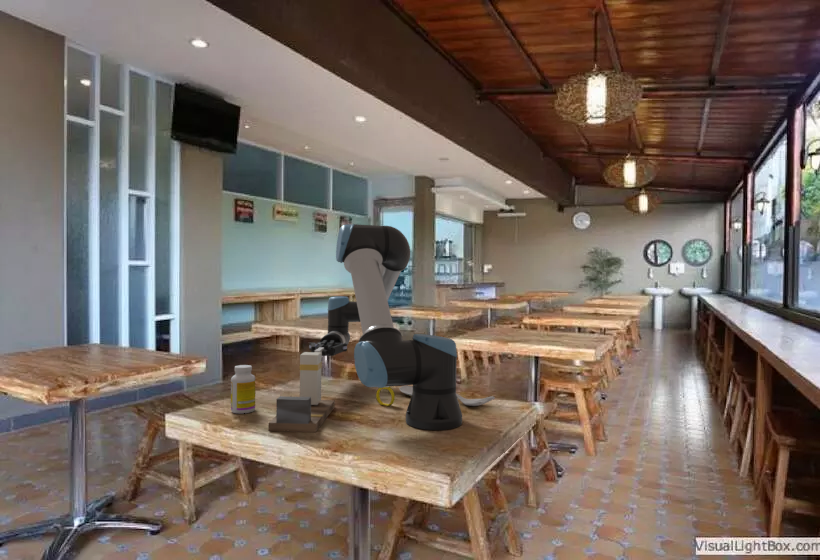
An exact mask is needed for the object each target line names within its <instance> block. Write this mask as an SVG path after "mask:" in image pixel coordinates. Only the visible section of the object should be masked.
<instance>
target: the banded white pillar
mask: <svg viewBox="0 0 820 560" xmlns="http://www.w3.org/2000/svg"><path fill="white" fill-rule="evenodd" d="M322 359H323V357H322V352H311V351H303V352H302V353H301V354H299V366H298V367H299V397H311V405H318V403H319V402H320V401H321V400H322V367H323V361H322Z"/></svg>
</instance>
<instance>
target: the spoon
mask: <svg viewBox="0 0 820 560" xmlns="http://www.w3.org/2000/svg"><path fill="white" fill-rule="evenodd" d="M398 389H399V391H400V392H401V393H403V394H405V395H406V396H410V397H411V396H412V393H413V385H403V386H399V388H398ZM456 396H457V399H458V401H460V402H461V403H462V404H463V405H465V406H469V407H477V406H482V405H485V404H487V403H489V402H491V401H492V400H495V399H496V397H495V396H491V395H490V396H487V397H484V398H465V397H463V396H462V395H460V394H458V393H456Z"/></svg>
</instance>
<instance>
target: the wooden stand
mask: <svg viewBox="0 0 820 560" xmlns="http://www.w3.org/2000/svg"><path fill="white" fill-rule="evenodd" d="M275 404H276V406H275V407H276V411H275V412H276V415H275V417H273V418H272V419H271V420H270V421H269V422H268V425H267V426H268V427H267V428H268V432H293V433H294V432H297V433H298V432H299V433H302V432H304V433H317V431H318V430H319V428H321V426H322V425H323V423H324V422H325V421H326V419H327V418H328V417H329V415H330V414H331V413H332V412H333V410H334V408H335V405H336V402H335V400H334V399H329V400H328V399H321V401H320V402H319V403H318V405H311V397H300V396H281V395H279V396H278V398H276V403H275Z"/></svg>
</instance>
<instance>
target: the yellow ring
mask: <svg viewBox="0 0 820 560" xmlns="http://www.w3.org/2000/svg"><path fill="white" fill-rule="evenodd" d="M381 390H387V391H388V392H389V394H390V395H391V400H390V403H384V402H383V401H382V399H381V396H380V393H381ZM395 395H396V394H395V392H394V390H393V389H392V388H391V386H389V387H383V388H379V387H378V389H377V391H376V395H375V398H376V401H377V403H378V404H379V405H380V406H386V407H390V406H392V404H394V402H395V399H396V397H395Z"/></svg>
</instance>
